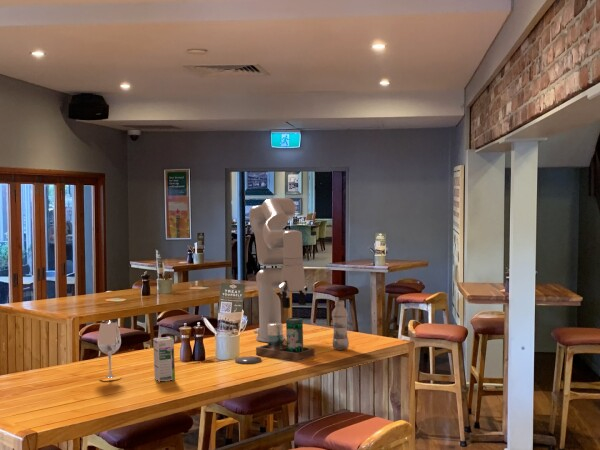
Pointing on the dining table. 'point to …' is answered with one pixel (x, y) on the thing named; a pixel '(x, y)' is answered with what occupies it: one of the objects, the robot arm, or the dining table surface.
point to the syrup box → (164, 359)
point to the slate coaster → (248, 360)
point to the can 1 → (275, 336)
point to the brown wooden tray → (285, 353)
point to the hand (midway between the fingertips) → (294, 306)
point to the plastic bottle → (340, 326)
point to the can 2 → (294, 334)
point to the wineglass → (109, 340)
